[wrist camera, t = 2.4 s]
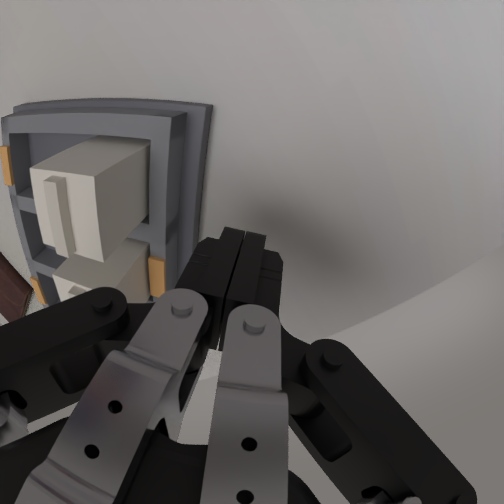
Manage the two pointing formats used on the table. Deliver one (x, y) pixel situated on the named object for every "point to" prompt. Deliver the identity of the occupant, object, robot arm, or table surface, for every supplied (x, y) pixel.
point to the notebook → (12, 291)
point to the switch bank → (160, 175)
